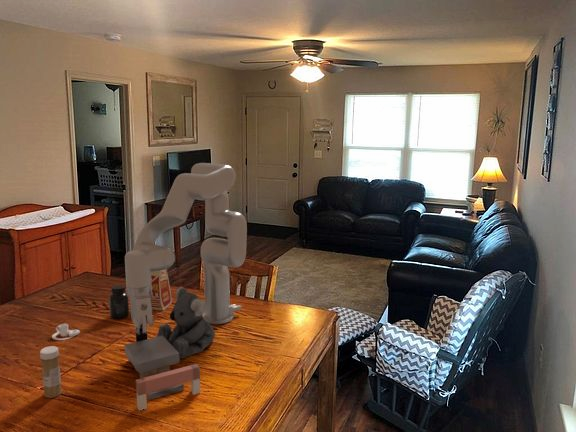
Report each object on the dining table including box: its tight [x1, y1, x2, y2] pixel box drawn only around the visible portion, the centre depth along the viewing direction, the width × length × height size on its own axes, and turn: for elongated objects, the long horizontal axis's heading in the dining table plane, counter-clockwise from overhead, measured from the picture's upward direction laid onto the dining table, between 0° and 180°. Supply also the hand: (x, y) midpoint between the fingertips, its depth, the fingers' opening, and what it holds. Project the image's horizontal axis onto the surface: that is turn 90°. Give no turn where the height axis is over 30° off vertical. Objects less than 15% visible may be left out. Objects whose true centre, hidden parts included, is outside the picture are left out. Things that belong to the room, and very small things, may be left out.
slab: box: [124, 335, 180, 375], centre depth 146 cm, size 12×14×3 cm
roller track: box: [134, 365, 185, 401], centre depth 145 cm, size 10×25×4 cm, turn 31°
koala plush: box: [156, 286, 216, 360], centre depth 162 cm, size 17×18×20 cm
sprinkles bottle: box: [39, 345, 63, 399], centre depth 133 cm, size 5×5×14 cm
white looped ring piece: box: [51, 323, 81, 341], centre depth 170 cm, size 9×8×4 cm
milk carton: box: [150, 269, 173, 311], centre depth 196 cm, size 9×9×20 cm
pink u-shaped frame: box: [135, 363, 201, 412], centre depth 132 cm, size 17×2×8 cm, turn 121°
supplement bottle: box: [108, 284, 130, 321], centre depth 185 cm, size 7×7×12 cm
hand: (142, 344), depth 154 cm, fingers closed
